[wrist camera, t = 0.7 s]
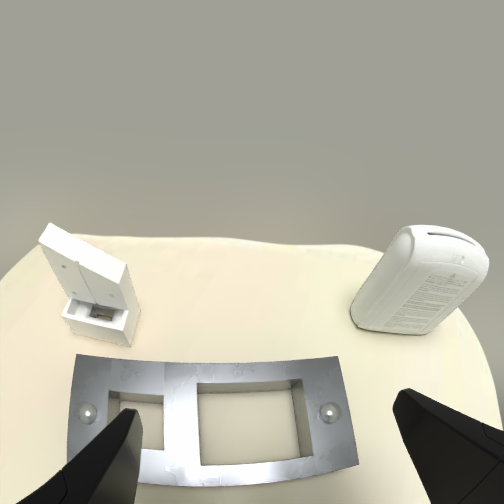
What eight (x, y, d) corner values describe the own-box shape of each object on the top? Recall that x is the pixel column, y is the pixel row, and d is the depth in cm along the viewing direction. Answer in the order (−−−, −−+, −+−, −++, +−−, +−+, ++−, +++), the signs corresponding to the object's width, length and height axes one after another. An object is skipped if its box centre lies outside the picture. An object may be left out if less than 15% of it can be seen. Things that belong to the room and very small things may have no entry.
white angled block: (42, 277, 22) (49, 222, 17) (131, 321, 26) (166, 283, 21) (27, 309, 20) (26, 261, 14) (122, 354, 24) (155, 326, 19)
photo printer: (423, 306, 29) (486, 231, 20) (430, 338, 26) (504, 266, 17) (347, 295, 29) (403, 203, 20) (350, 332, 26) (419, 243, 17)
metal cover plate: (341, 466, 17) (361, 464, 15) (82, 469, 14) (64, 468, 12) (324, 369, 23) (339, 354, 21) (89, 367, 20) (74, 351, 18)
